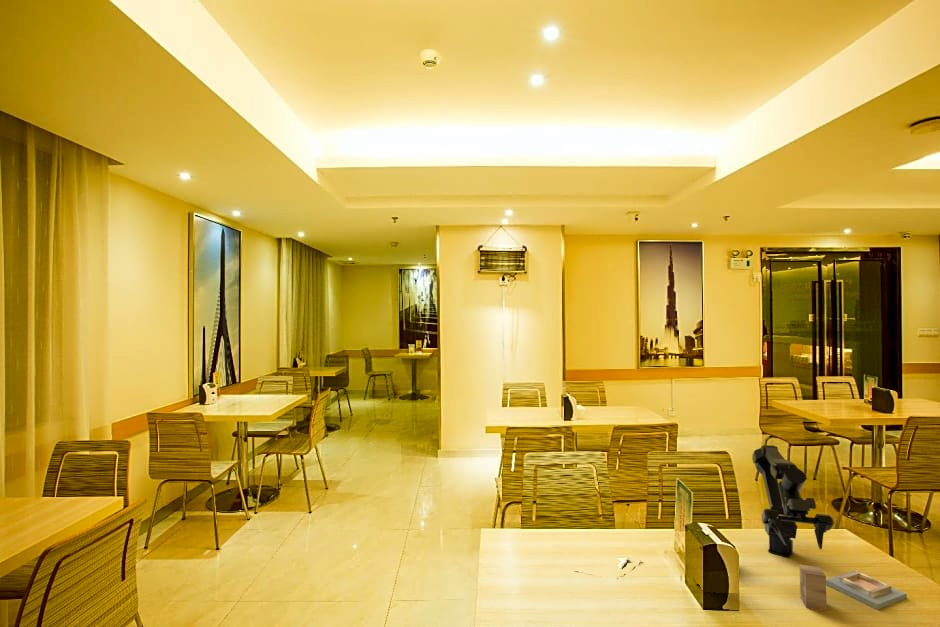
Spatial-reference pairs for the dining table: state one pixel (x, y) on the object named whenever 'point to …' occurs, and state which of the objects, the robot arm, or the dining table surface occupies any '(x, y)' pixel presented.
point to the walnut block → (813, 587)
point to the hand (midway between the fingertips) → (803, 546)
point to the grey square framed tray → (866, 589)
